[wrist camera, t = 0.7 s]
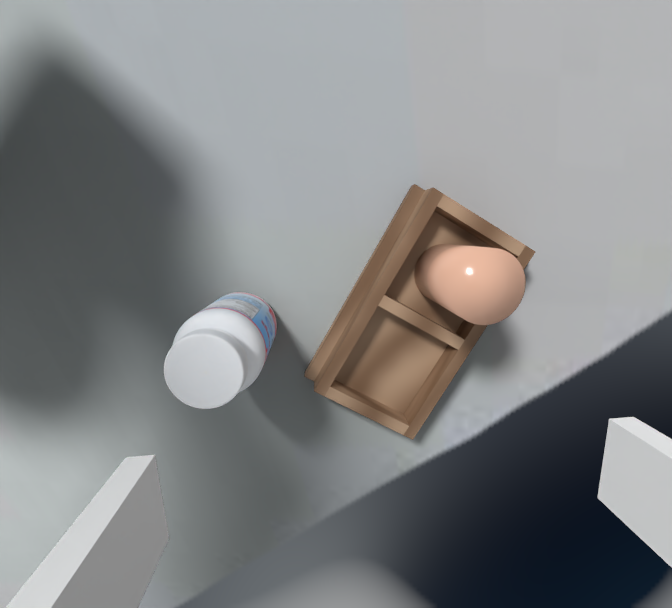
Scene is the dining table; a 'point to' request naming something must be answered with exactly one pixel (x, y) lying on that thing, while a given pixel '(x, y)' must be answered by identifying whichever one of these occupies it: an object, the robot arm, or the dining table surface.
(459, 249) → the peach capsule shape
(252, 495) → the dining table surface
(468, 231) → the rack
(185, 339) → the pill bottle
